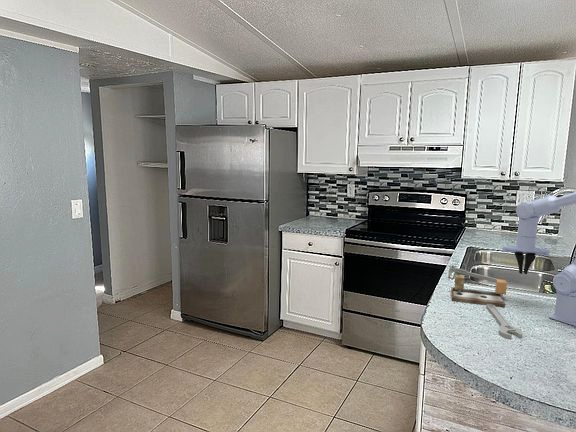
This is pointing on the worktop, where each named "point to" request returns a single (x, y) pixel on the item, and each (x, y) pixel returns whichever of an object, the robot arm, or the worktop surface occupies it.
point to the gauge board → (474, 294)
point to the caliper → (468, 274)
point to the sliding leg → (501, 287)
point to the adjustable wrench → (503, 324)
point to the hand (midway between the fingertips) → (522, 273)
